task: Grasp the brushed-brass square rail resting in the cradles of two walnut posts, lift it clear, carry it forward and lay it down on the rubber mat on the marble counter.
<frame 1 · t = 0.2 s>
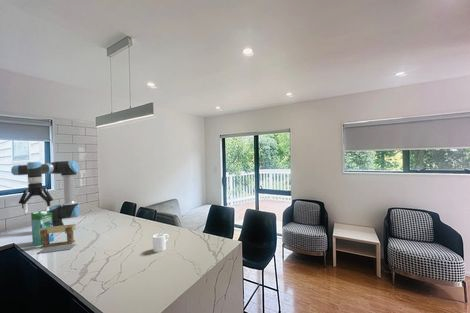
hand: (36, 211, 155), 28 cm above the worktop, fingers open, 13 cm apart
mug: (162, 248, 148), on the worktop
mat: (57, 249, 155), on the worktop
milk carton: (43, 242, 170), on the worktop
rail: (57, 231, 164), point 10 cm above the worktop, touching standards
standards: (58, 244, 164), on the worktop
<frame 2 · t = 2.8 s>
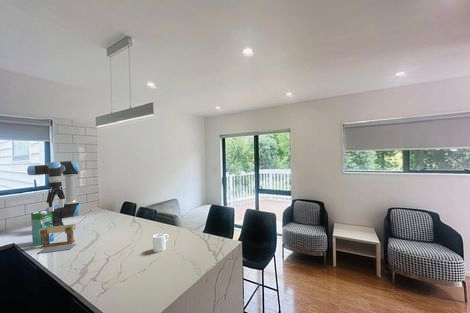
hand: (56, 209, 164), 27 cm above the worktop, fingers open, 13 cm apart
nothing on the worktop moved.
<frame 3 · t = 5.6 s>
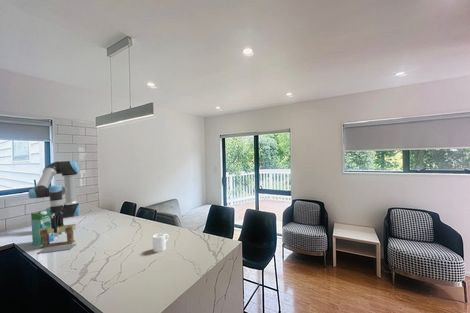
hand: (58, 235, 164), 7 cm above the worktop, fingers closed on rail, 4 cm apart
rail: (57, 231, 164), point 10 cm above the worktop, touching gripper, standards
everything else where it was.
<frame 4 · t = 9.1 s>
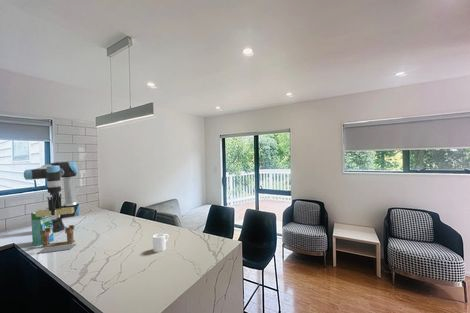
hand: (55, 218, 155), 23 cm above the worktop, fingers closed on rail, 4 cm apart
rail: (55, 214, 155), point 26 cm above the worktop, touching gripper
everything else where it was.
when the fingers open (1 cm above the worktop, at t = 12.7 s): rail drops 4 cm, resting on mat.
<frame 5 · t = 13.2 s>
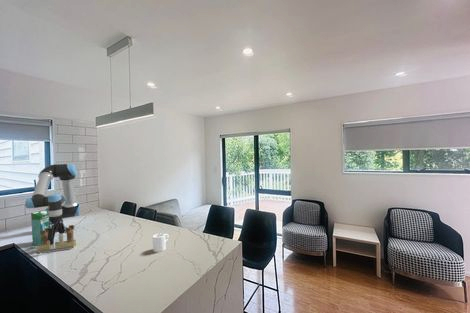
hand: (57, 245, 155), 3 cm above the worktop, fingers open, 11 cm apart
rail: (57, 248, 156), point 1 cm above the worktop, touching mat
everything else where it was.
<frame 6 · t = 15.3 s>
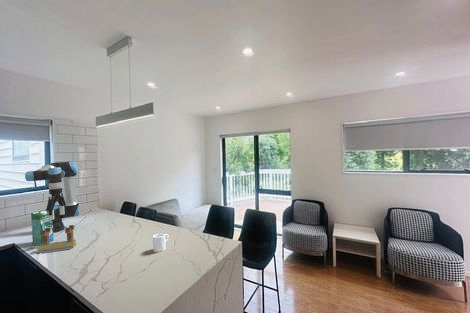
hand: (57, 217, 157), 23 cm above the worktop, fingers open, 13 cm apart
nothing on the worktop moved.
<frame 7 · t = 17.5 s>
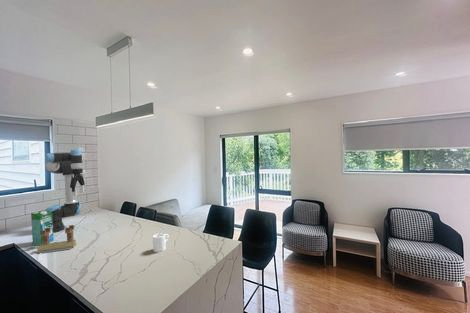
hand: (78, 194, 174), 37 cm above the worktop, fingers open, 13 cm apart
nothing on the worktop moved.
at the end: rail inside the target area (0.1 cm from its centre), point 0.6 cm above the worktop; rail touching mat; the gripper is holding nothing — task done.
